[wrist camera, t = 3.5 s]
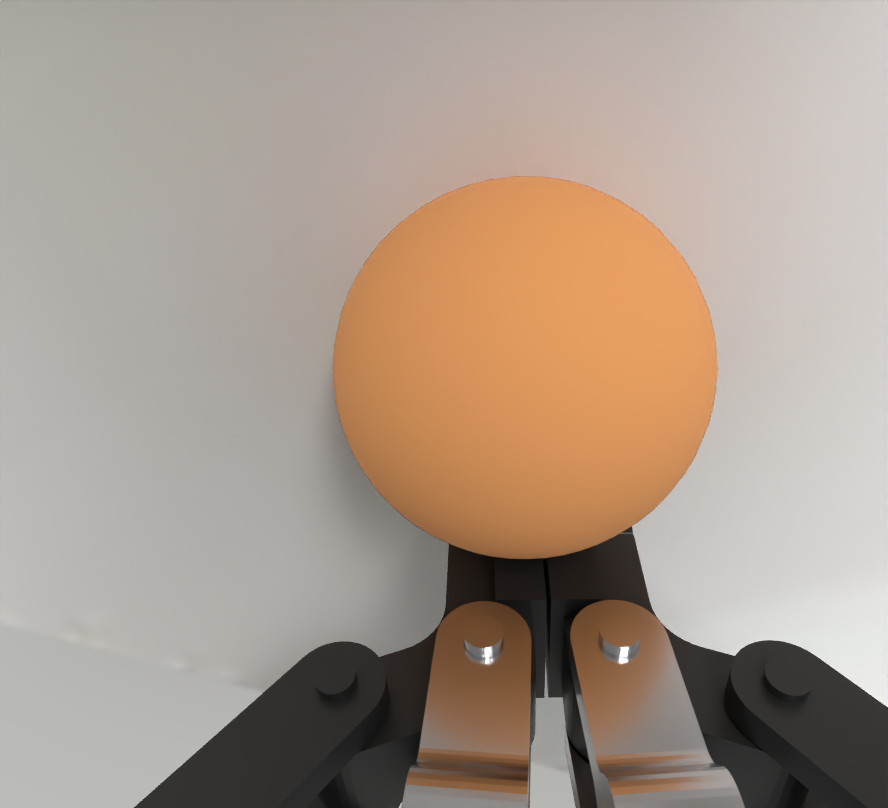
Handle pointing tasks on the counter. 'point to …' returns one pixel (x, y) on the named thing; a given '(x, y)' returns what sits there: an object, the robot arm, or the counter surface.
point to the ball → (525, 367)
